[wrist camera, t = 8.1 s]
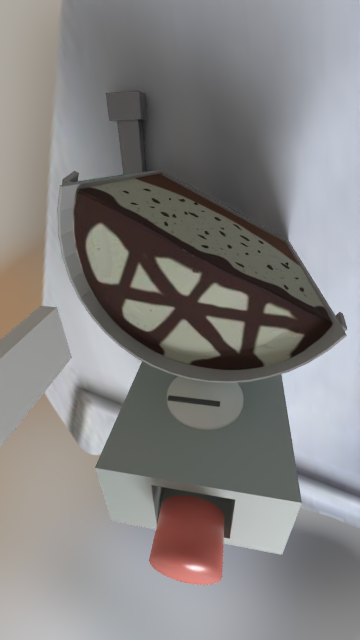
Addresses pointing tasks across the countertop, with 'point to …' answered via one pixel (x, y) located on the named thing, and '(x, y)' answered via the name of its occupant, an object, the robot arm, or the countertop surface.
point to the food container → (190, 280)
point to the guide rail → (129, 127)
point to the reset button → (189, 540)
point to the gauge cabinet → (204, 455)
